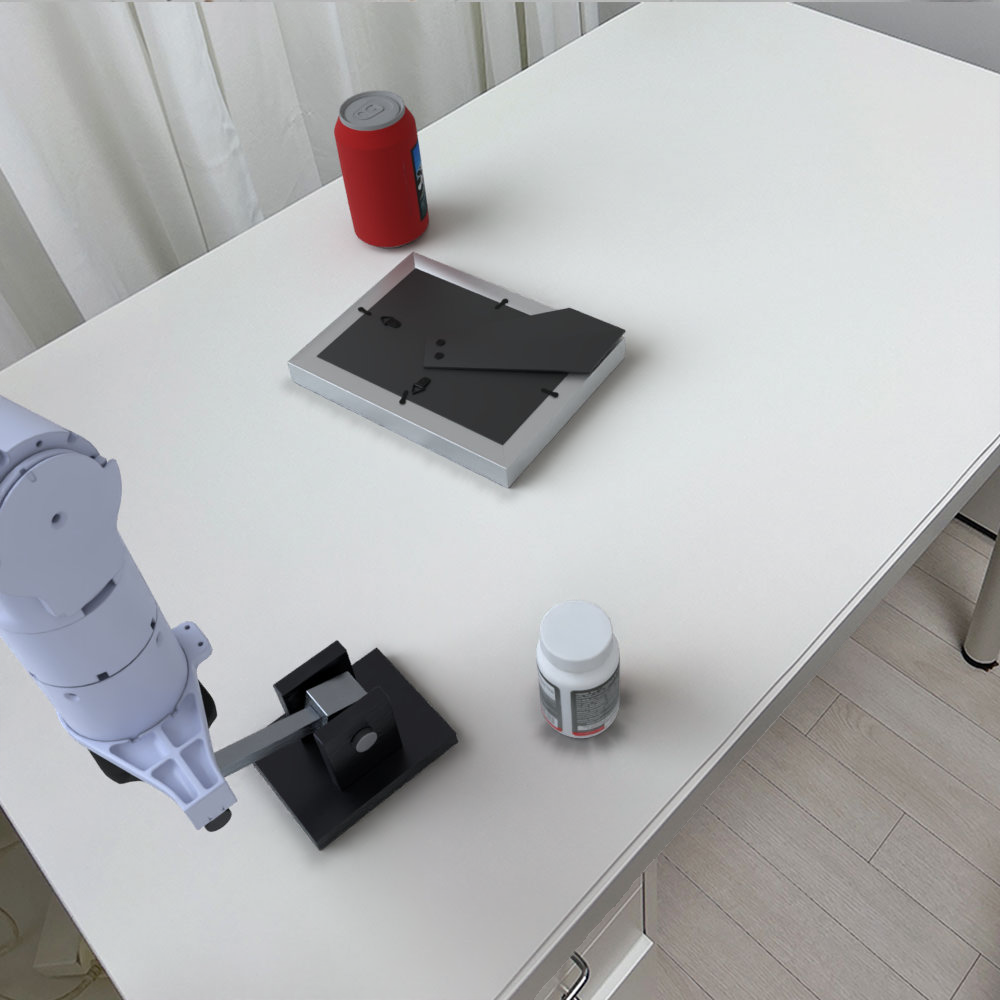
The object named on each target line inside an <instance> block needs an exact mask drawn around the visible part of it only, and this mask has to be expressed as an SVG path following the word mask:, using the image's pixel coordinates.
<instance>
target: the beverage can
mask: <svg viewBox="0 0 1000 1000" xmlns="http://www.w3.org/2000/svg"><path fill="white" fill-rule="evenodd" d="M333 135H334V139H335V145H336V149H337V150H336V151H337V155H338V160H339V165H340V170H341V175H342V180H343V186H344V189H345V194H346V200H347V204H348V208H349V213H350V219H351V222H352V226H353V231H354V234H355V235H356V237H357V238H358V239H359V240H360V241H362V243H364V244H367V245H370V246H372V247H378V248H385V249H389V248H390V249H391V248H392V249H393V248H398V247H403V246H405V245H407V244H409V243H412V242H414V241H415V240H417V239H419V238H420V237H421V236H423V234H424V233H425V232H426V230H428V229H427V228H428V227H429V223H430V214H429V208H428V199H427V192H426V184H425V177H424V170H423V163H422V155H421V149H420V142H419V135H418V130H417V122H416V118H415V116H414V115H413V113H412V111H410V110H409V108H408V107H407V106H406V104H405V102H404V100H403V98H402V97H401V96H400V95H398V94H396V93H394V92H391V91H387V90H368V91H363V92H360V93H356V94H354V95H351V96H350V97H348V98H347V99H346V100H344V101H343V103H341V105H340V106H339V108H338V116H337V120H336V122H335V125H334V129H333Z"/></svg>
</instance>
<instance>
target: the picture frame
mask: <svg viewBox="0 0 1000 1000" xmlns="http://www.w3.org/2000/svg"><path fill="white" fill-rule="evenodd" d="M625 333H626V329H624V328H622V327H619V326H617V325H614V324H612V323H609V322H607V321H604V320H602V319H599V318H597V317H594V316H592V315H589V314H587V313H584V312H582V311H580V310H577V309H575V308H572V307H566V308H561V309H556V308H554V307H551V306H549V305H546V304H544V303H541V302H539V301H536V300H534V299H532V298H529V297H526V296H524V295H521V294H520V293H516V292H514V291H512V290H509V289H507V288H505V287H501V286H499V285H497V284H494V283H492V282H490V281H487V280H484V279H482V278H480V277H478V276H475V275H473V274H470V273H467V272H465V271H463V270H460V269H457V268H455V267H452V266H450V265H448V264H445V263H442V262H440V261H437V260H435V259H433V258H430V257H429V256H425V255H423V254H421V253H417V252H415V251H411V252H410V254H408V255H407V256H406V257H405V258H404V259H403V260H401V261H400V262H399V263H398V264H397V265H396V266H395V267H394V268H392V269H391V270H390V271H389V272H388V273H386V274H385V275H384V276H383V277H382V278H381V279H380V280H378V281H377V282H376V283H375V284H374V285H373V286H372V287H371V288H370V289H368V290H367V291H366V292H365V293H364V294H363V295H362V296H361V297H359V298H358V299H357V300H356V301H355V302H353V303H352V304H351V305H350V306H349V307H348V308H347V309H346V310H345V311H344V312H341V314H340V315H339V316H337V317H336V318H335V319H334V320H333V321H332V322H331V323H329V324H328V326H326V327H325V328H324V329H323V330H322V331H321V332H320V333H318V334H317V335H316V336H314V338H312V340H310V341H309V342H308V343H307V344H305V346H303V348H301V349H300V350H299V351H298V352H296V353H295V354H294V355H293V356H292V357H291V358H289V360H287V362H286V365H287V368H288V371H289V374H290V378H291V381H292V382H293V383H295V384H297V385H299V386H301V387H303V388H305V389H307V390H309V391H311V392H313V393H316V394H317V395H318V396H321V397H323V398H324V399H326V400H329V401H332V402H333V403H335V404H337V405H339V406H342V407H343V408H345V409H347V410H350V411H351V412H354V413H355V414H357V415H359V416H361V417H364V418H366V419H368V420H370V421H372V422H374V423H376V424H378V425H379V426H382V427H384V428H386V429H387V430H390V431H392V432H394V433H396V434H398V435H400V436H402V437H404V438H406V439H407V440H410V441H412V442H414V443H416V444H418V445H420V446H422V447H424V448H426V449H429V450H430V451H431V452H433V453H436V454H438V455H440V456H442V457H444V458H446V459H448V460H450V461H452V462H453V463H456V464H458V465H460V466H462V467H464V468H466V469H468V470H470V471H473V472H475V473H477V474H478V475H480V476H483V477H485V478H487V479H488V480H491V481H493V482H494V483H497V484H499V485H500V486H502V487H505V488H506V489H509V488H510V487H511V486H512V485H513V484H514V483H515V481H517V479H518V478H519V477H520V476H521V475H522V473H524V471H525V470H526V469H527V468H528V467H529V466H530V465H531V464H532V463H533V462H534V460H535V459H536V458H537V457H538V456H539V455H540V453H541V452H542V451H543V450H544V449H545V448H546V447H547V445H548V444H549V443H550V442H551V441H552V440H553V439H554V438H555V436H556V435H557V434H558V433H559V432H560V431H561V430H562V429H563V428H564V426H566V424H567V423H568V422H569V421H570V420H571V419H572V417H573V416H574V415H575V414H577V412H578V411H579V409H581V407H583V405H584V404H585V403H586V402H587V401H588V400H589V398H590V397H591V396H592V395H593V394H594V393H595V392H596V391H597V389H598V388H599V387H600V386H601V385H602V384H603V383H604V382H605V380H606V379H607V378H608V377H609V376H610V375H611V373H612V372H614V370H615V369H616V368H617V367H618V366H619V365H620V363H621V362H622V361H624V359H625V358H626V337H625V336H624V335H625Z"/></svg>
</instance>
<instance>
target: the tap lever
mask: <svg viewBox="0 0 1000 1000" xmlns="http://www.w3.org/2000/svg"><path fill="white" fill-rule="evenodd" d="M366 694H367V692H366V691H365V690H364V689H363V688H362V687H361V686H360V684H359V683H358V682H357V681H356V680H355V679H354V678H353V677H352V676H351V674H350V673H349V672H348V671H346V672H344V673H342V674H339V675H337V676H335V677H333V678H331V679H329V680H327V681H325V682H323V683H321V684H319V685H317V686H314V687H312V688H310V689H308V690H307V691H306V697H305V708H304V709H302V710H300V711H298V712H296V713H294V714H292V715H290V716H288V717H286V718H284V719H282V720H280V721H278V722H276V723H273V724H271V723H270V724H271V725H269V724H268V725H269V726H268V725H266V726H265V727H263V728H261V729H259V730H257V731H255V732H253V733H251V734H249V735H247V736H245V737H243V738H240V739H238V740H237V741H235V742H233V743H231V744H229V745H227V746H225V747H223V748H220V749H218V750H216V751H213V752H214V755H215V759H216V762H217V765H218V768H219V770H220V772H221V774H222V775H223V777H224V778H227V777H229V776H231V775H233V774H235V773H237V772H238V771H240V770H242V769H244V768H245V769H246V768H247V767H249V766H250V765H253V764H252V763H254V762H256V761H258V760H260V759H262V758H264V757H266V756H268V755H270V754H272V753H274V752H276V751H278V750H280V749H282V748H284V747H286V746H288V745H290V744H292V743H294V742H296V741H298V740H300V739H302V738H304V737H305V736H307V735H309V734H311V733H313V732H316V731H317V730H318V729H320V728H321V727H322V726H324V725H325V724H327V723H328V722H329V721H331V720H332V719H333V718H335V717H336V716H337V715H339V714H340V713H341V712H343V711H344V710H346V709H347V708H348V707H350V706H351V705H352V704H354V703H355V702H356V701H358V700H359V699H361V698H362V697H363V696H365V695H366ZM224 810H225V809H224ZM232 816H233V813H232V811H231V809H230V807H229V808H228V809H226V810H225V811H224V812H223V813H222V814H220V815H219V816H218V817H216V818H215V819H214V820H212V821H210V822H209V823H208V824H206V825H205V826H204V827H203V828H204V829H205V830H206V831H207V832H209V833H214V832H217V831H219V830H221V829H222V828H224V827H225V826H226V825H227V824H228V823H229V822H230V820H231V819H232Z"/></svg>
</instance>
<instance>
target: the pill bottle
mask: <svg viewBox="0 0 1000 1000" xmlns="http://www.w3.org/2000/svg"><path fill="white" fill-rule="evenodd" d="M535 661H536V668H537V669H536V671H537V679H538V680H537V681H538V690H539V700H540V701H539V702H540V708H541V713H542V715H543V717H544V719H545V721H546V722H547V724H548V725H549V726H550V727H551V728H552V729H553V730H555V731H556V732H558V733H559V734H562V735H563V736H567V737H569V738H574V739H585V738H587V739H588V738H591V737H595V736H598V735H600V734H601V733H603V732H604V731H606V730H607V729H609V727H610V726H611V725H612V724H613V722H614V721H615V720H616V717H617V716H618V712H619V709H620V702H621V701H620V700H621V699H620V698H621V697H620V695H621V694H620V691H621V689H620V687H621V685H620V682H621V681H620V673H621V672H620V671H621V670H620V669H621V667H620V666H621V652H620V646H619V641H618V640H617V637H616V635H615V634H614V627H613V624H612V620H611V618H610V616H609V615H608V613H607V612H606V611H605V609H603V608H602V607H600V606H599V605H597V604H596V603H593V602H591V601H588V600H583V599H569V600H565V601H562V602H560V603H557V604H556V605H554V606H552V607H551V608H550V609H549V610H548V611H547V612H546V613H545V614H544V616H543V617H542V620H541V622H540V625H539V639H538V641H537V644H536V650H535Z"/></svg>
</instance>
